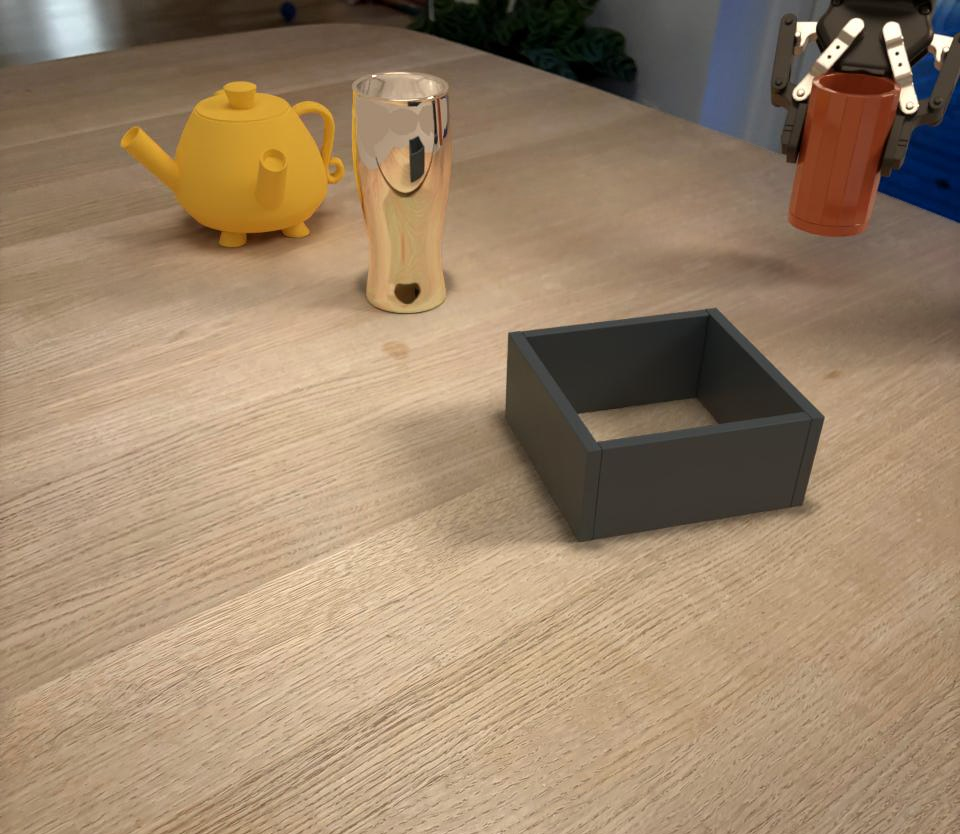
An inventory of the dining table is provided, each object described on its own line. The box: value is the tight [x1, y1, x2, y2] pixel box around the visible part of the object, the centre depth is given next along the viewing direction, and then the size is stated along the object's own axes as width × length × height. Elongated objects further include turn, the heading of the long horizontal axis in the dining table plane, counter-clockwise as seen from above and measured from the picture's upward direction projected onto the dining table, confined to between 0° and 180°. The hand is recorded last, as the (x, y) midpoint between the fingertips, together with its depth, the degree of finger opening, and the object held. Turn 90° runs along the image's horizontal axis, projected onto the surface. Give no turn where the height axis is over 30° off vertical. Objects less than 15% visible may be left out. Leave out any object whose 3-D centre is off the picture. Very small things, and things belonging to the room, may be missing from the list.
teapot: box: [120, 80, 345, 248], centre depth 91 cm, size 14×14×11 cm
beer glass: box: [351, 71, 453, 314], centre depth 81 cm, size 7×7×15 cm
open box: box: [504, 307, 826, 543], centre depth 66 cm, size 14×14×7 cm
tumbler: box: [786, 72, 901, 238], centre depth 84 cm, size 6×6×10 cm
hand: (838, 164), depth 83 cm, fingers closed on tumbler, 6 cm apart
